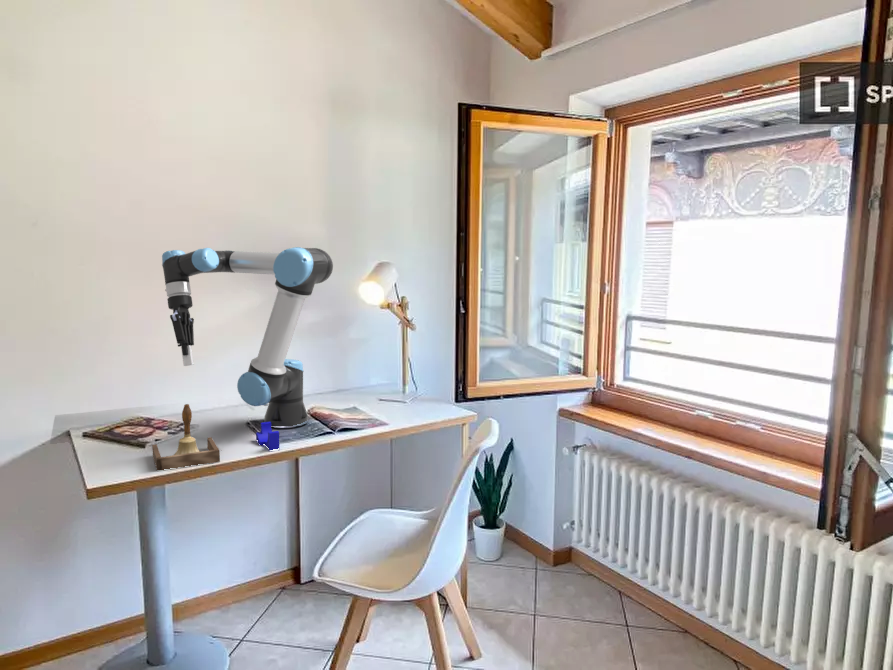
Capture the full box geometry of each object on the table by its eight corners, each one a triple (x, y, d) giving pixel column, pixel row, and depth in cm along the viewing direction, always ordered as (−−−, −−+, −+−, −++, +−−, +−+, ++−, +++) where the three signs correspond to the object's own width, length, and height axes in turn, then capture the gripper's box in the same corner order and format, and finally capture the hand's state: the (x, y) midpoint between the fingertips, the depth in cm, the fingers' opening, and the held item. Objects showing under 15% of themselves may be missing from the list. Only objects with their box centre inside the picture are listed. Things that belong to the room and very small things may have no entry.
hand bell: (206, 451, 178) (204, 400, 176) (198, 461, 170) (196, 408, 168) (177, 452, 177) (175, 400, 175) (167, 462, 169) (165, 408, 167)
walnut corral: (211, 448, 181) (211, 437, 181) (219, 461, 170) (219, 450, 170) (152, 456, 173) (152, 444, 172) (157, 471, 162) (156, 459, 161)
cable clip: (256, 441, 190) (255, 423, 189) (270, 439, 192) (270, 421, 191) (264, 453, 179) (264, 434, 179) (279, 450, 182) (279, 432, 181)
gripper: (177, 301, 205) (186, 367, 203) (158, 295, 192) (168, 366, 190) (198, 297, 205) (207, 364, 203) (181, 291, 192) (191, 362, 190)
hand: (188, 365), depth 196 cm, fingers closed
